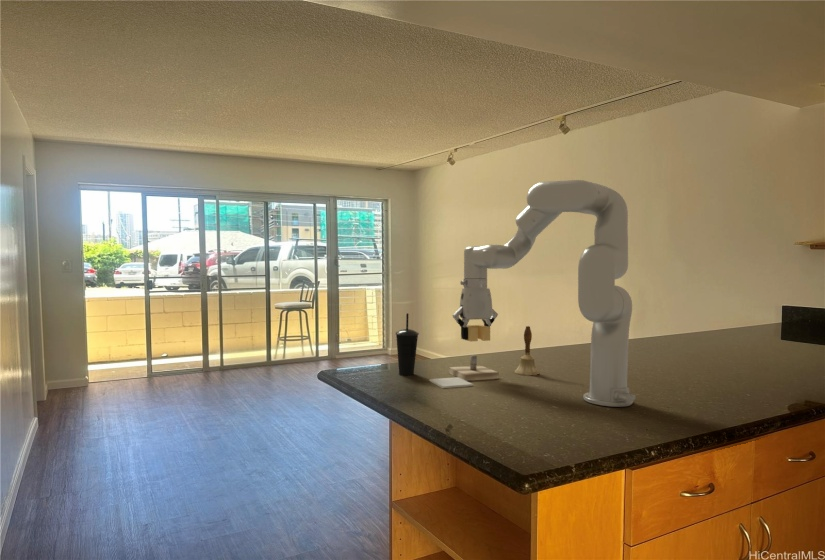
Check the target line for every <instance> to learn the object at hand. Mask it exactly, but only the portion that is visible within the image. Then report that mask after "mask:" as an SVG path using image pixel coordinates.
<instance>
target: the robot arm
mask: <svg viewBox="0 0 825 560" xmlns="http://www.w3.org/2000/svg"><path fill="white" fill-rule="evenodd" d="M526 204H527V206H526V207H525V208H524V209H523V210H522V211H521V212H519V214H518V215H517V216H516V217H515V224H516V226H517V231H516V233H515V234H514V236H513V237H512V238H510V240H508V242H506V243H505V244H504V245H501V244H486V245H481V246H480V245H478V246H477V245H475V246H474V245H472V246H471V245H470V246H466V247H464V250H463V251H464V252H463V280H461V281H460V285H461V286H463V288H461V293H460V298H459V299H460V300H459V308H458V309H457V310H456V311H455V312H454V313H452V318H453V319H454V321H456V323H457V324H458V325H459V327H460V338H461V337H462V339H461V340H463V339H464V341H467V340H468V327H467V325H468V324H469V321H470V320H472V321H473V320H481V321H482V323H483V326H488V327H490V328H491V327H492V324H493V323H494V322H495V320H496V319H497V317H498V316H499V313H497V312H496V311H495V310H494V309H493V300H492V294H491V288H489V287H488V269H490V270H491V269H492V270H493V269H494V270H495V269H496V270H497V269H503V270H504V269H509V268H512V267H514V266H515V265H517V264H518V263H519V262H520V261H521V260H523V258H524V257H525V256H526V255H527V254H528V253H529V252H530V251H531V249H532V248H533V246H534V244H535V242H536V239H537V237H538V236H539V235H540V234H541V233H542V232H543V231H544V230H545V229H547V228H548V226H549V225H550V224H552V223H553V221H555V220H556V219H557V218H558V217H559V216H560V215H561V214H562V213H580V214H585V215H586V214H587V215H592V216H594V217H596V222H595V225H594V230H593V231H594V241H593V242H594V243H593V244H592V245H590V246H588V247H586V249H584V251H583V252H582V253H581V255H580V258H579V259H578V268H577V269H578V270H577V275H578V277H577V280H578V281H577V283H578V284H577V286H578V287H577V292H578V293H577V299H578V302H577V303H578V307H579V311H580V313H581V315H582V316H583V318H585V319H586V320H588V321H589V322H592V328H591V335H590V336H591V338H590V364H589V366H590V367H589V392H588V391H587V392H585V393H583V394H582V395H583V400H584V401H585V402H587V403H589V404H592V405H598V406H601V407H603V406H604V407H614V408H615V407H616V408H617V407H620V408H621V407H622V408H623V407H629V406H631V405H632V404H633V402H634V401H635V400H636V395H635V394H632V393H630V387H628V360H629V339H630V338H629V336H630V326H631V325H630V324H631V320H632V313H633V301H632V297H631V294H630V293H629V292H628V291H627V290H626V289H625V288H624V287H621V286H619V285H616V281H615V280H619V279H621V278H622V277H624V275H625V274H626V273H627V271H628V268H629V232H628V231H629V227H628V225H629V224H628V223H629V220H628V219H629V214H628V213H629V212H628V206H627V203H626V201H625V199H624V197H623V196H622V195H621V194H620V193H619V192H618V191H617V190H615V189H613V188H611V187H608V186H605V185H602V184H598V183H594V182H592V181H588V180H583V179H582V180H581V179H572V180H570V179H569V180H554V181H553V180H552V181H540V182H537V183H535V184H534V185H532V186H531V187H530V188H529V190H528V192H527V195H526Z"/></svg>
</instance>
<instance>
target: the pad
mask: <svg viewBox="0 0 825 560" xmlns="http://www.w3.org/2000/svg"><path fill="white" fill-rule="evenodd" d="M428 382H429V383H431V384H434V385H435V386H438V387H439V388H441V389H451V388H464V387H465V388H468V387H473V386H474V384H473V383H472V382H470V381H465V380H463V379H461V378H459V377H456V376H454V377H444V378H443V377H442V378H440V377H439V378H430V379H428Z"/></svg>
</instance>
